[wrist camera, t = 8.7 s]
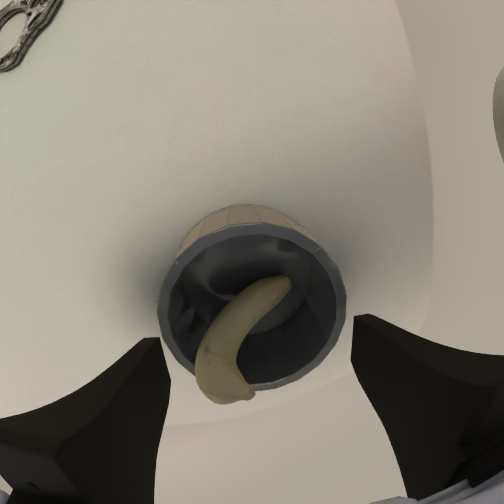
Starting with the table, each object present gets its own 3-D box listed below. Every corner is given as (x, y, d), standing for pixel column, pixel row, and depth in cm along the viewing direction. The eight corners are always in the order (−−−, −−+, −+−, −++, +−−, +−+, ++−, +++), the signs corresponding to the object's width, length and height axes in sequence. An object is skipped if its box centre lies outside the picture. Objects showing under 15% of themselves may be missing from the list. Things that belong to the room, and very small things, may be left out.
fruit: (224, 276, 18) (236, 299, 19) (165, 391, 12) (187, 413, 13) (286, 264, 17) (297, 290, 18) (247, 394, 10) (265, 418, 11)
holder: (313, 198, 18) (347, 214, 13) (316, 328, 20) (342, 378, 15) (166, 212, 18) (141, 234, 12) (188, 341, 20) (178, 397, 15)
